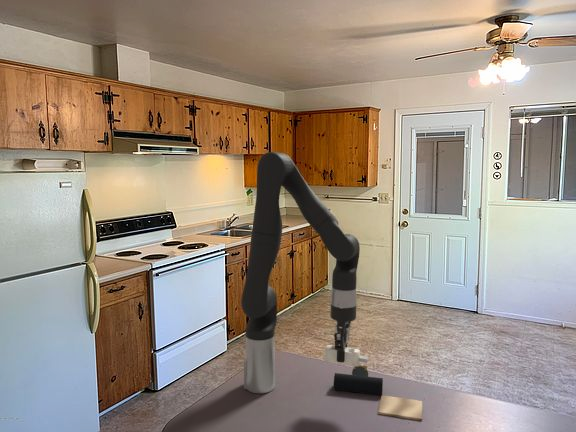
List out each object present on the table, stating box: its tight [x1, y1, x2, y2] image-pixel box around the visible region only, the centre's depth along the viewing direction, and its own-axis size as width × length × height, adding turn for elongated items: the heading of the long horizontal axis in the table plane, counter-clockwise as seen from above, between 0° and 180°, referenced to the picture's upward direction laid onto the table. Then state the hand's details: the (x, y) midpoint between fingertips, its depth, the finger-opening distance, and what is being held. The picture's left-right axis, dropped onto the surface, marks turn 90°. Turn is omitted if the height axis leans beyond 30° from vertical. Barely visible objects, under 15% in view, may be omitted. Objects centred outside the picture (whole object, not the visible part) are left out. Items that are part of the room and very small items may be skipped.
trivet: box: [377, 394, 423, 422], centre depth 131 cm, size 12×10×1 cm
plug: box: [324, 344, 369, 367], centre depth 133 cm, size 13×4×4 cm, turn 73°
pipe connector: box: [333, 365, 384, 396], centre depth 145 cm, size 12×5×15 cm
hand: (341, 358), depth 133 cm, fingers closed on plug, 3 cm apart
